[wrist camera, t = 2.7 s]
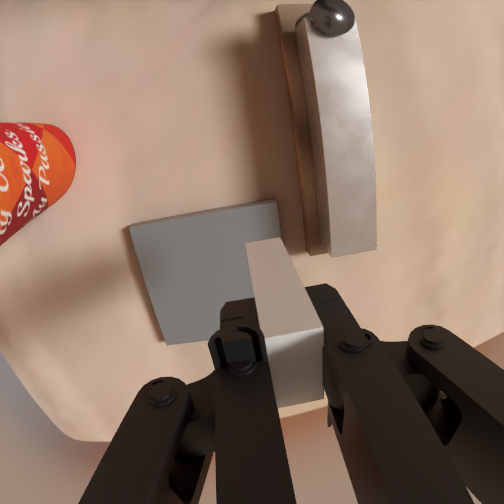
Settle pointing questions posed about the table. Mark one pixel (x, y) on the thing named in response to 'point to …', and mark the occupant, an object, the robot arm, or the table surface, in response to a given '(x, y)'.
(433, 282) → the table surface
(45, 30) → the table surface
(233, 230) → the slate pad
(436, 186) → the table surface
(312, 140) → the bar
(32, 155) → the coffee cup
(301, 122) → the base
